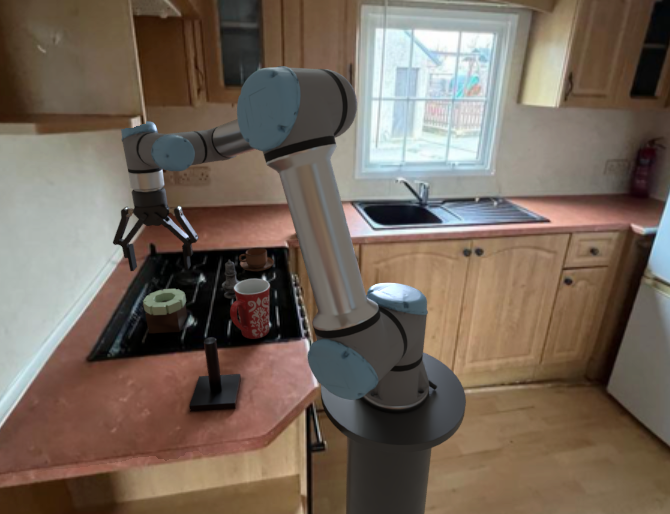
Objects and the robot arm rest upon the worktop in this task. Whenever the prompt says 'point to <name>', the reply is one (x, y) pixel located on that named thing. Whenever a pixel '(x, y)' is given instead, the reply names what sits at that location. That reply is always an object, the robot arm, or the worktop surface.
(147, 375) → the worktop surface
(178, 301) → the ring disc
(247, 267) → the cup and saucer
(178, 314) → the riser
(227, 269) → the grey chess piece
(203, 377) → the stand
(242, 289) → the mug
